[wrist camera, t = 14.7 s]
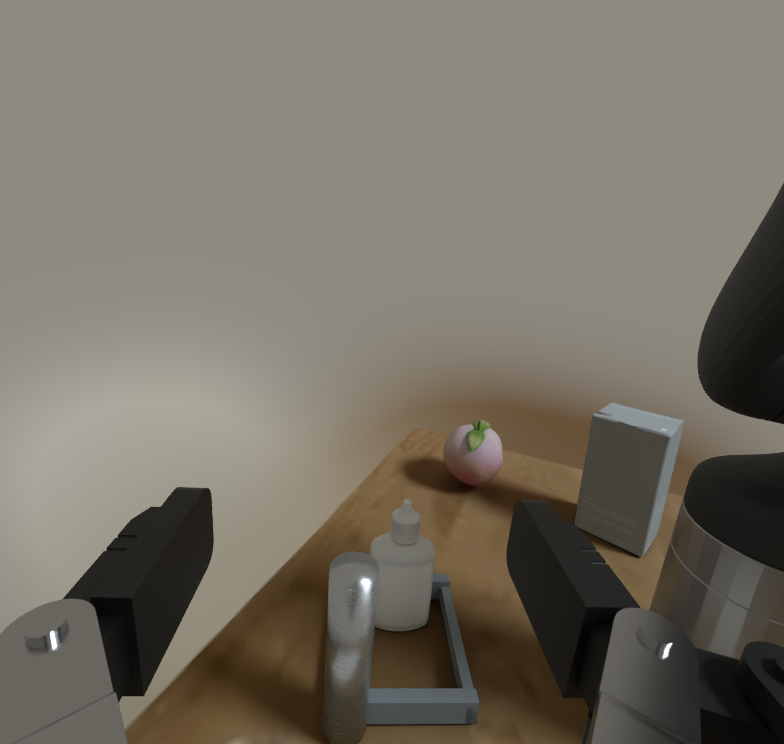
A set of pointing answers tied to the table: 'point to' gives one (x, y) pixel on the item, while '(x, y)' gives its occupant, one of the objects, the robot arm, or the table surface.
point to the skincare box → (627, 475)
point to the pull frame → (354, 659)
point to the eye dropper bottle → (403, 572)
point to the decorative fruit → (473, 453)
